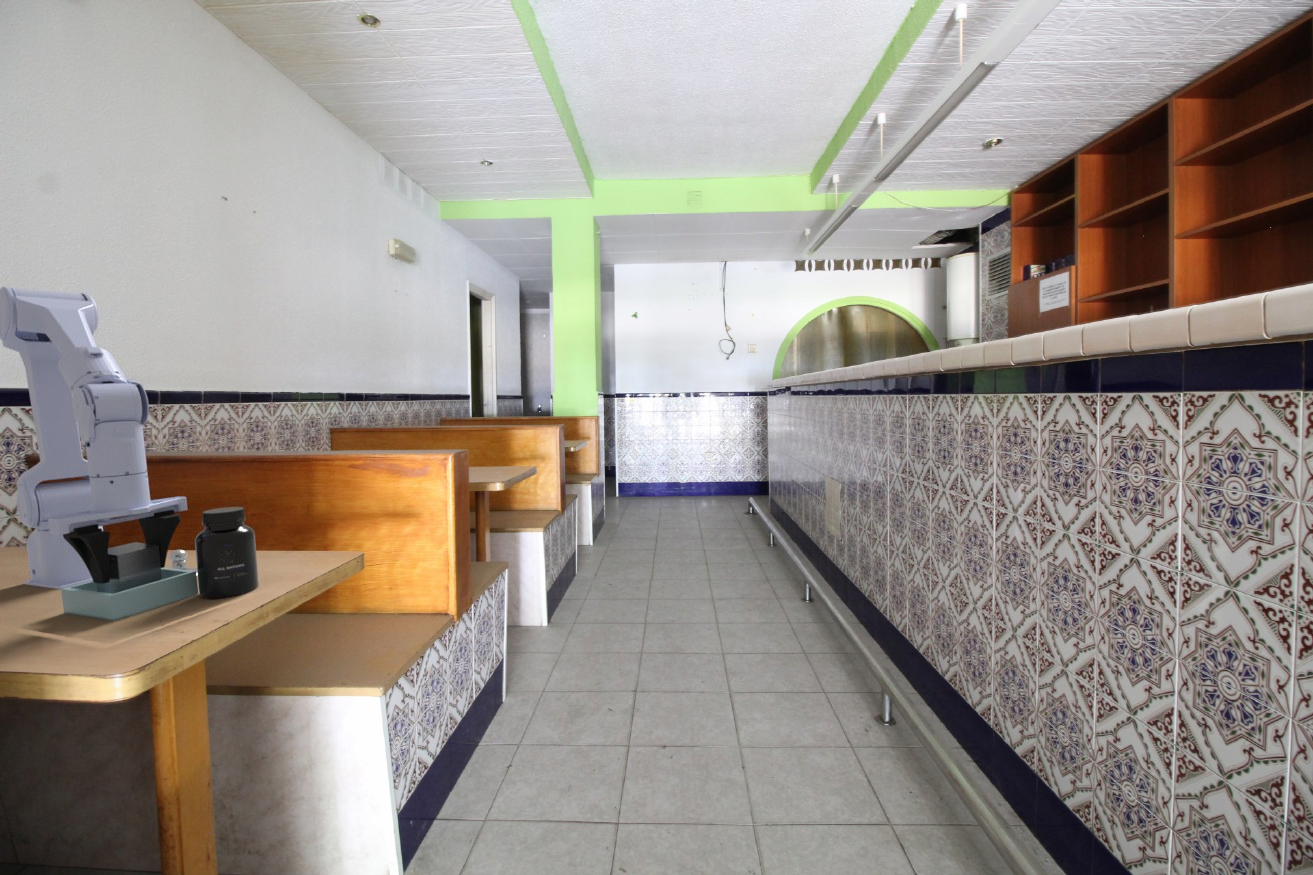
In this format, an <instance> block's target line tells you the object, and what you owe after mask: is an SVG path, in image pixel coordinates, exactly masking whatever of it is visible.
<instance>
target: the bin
mask: <svg viewBox="0 0 1313 875" xmlns="http://www.w3.org/2000/svg"><path fill="white" fill-rule="evenodd" d="M161 576H162V580H159V581H156V582H152V583H149V584H145V585H142V586H139V587H135V588H132V589H128V590H125V591H121V592H118V593H114V594H111V593H104V592H97V585H96V583H94V582H93V581H89V582H85V583H81V584H77V585H74V586H70V587H66V588H62V589H60V591H61V597H62V598H61V599H62V606H63V614H66V615H71V616H78V617H85V618H90V619H97V620H102V621H103V620H104V621H110V622H115V621H118V620H119V621H120V620H121V619H126V618H128V617H131V616H134V615H138V614H140V613H144V612H146V611H149V610H152V609H156V608H159V607H162V606H164V605H168V604H171V603H175V602H178V601H180V600H184V599H187V598H189V597H193V596H196V595H199V584H198V575H196V571H190V570H181V569H172V567H163V568H161Z"/></svg>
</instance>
